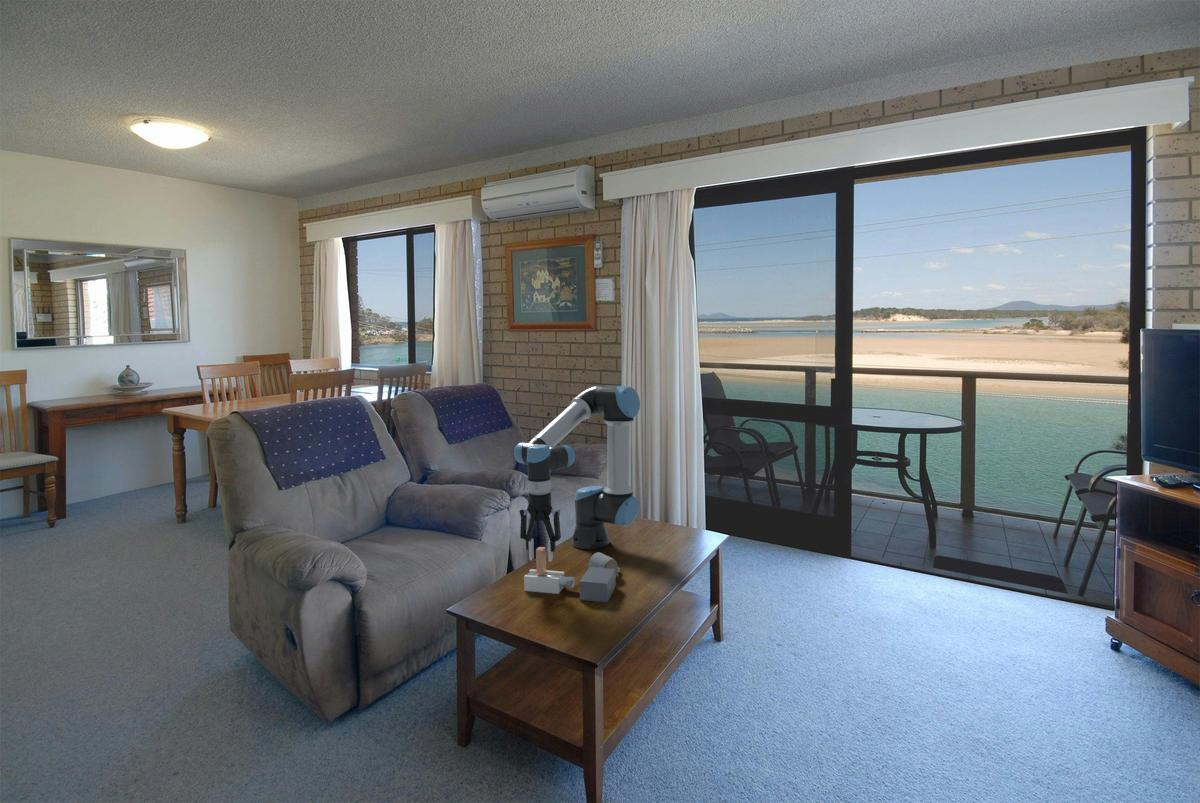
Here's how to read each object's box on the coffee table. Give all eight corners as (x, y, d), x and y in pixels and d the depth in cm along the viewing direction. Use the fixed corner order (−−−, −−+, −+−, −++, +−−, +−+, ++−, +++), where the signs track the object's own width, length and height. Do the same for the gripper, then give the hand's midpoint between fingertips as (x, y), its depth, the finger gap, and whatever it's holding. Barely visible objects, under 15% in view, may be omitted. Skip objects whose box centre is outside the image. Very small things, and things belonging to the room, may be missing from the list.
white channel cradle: (531, 583, 210) (530, 569, 209) (564, 586, 207) (564, 571, 206) (524, 590, 204) (523, 576, 203) (558, 593, 201) (558, 579, 200)
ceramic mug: (604, 582, 210) (604, 560, 209) (588, 576, 215) (588, 554, 215) (625, 574, 217) (625, 553, 216) (608, 568, 223) (608, 547, 222)
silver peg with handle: (529, 581, 208) (528, 545, 207) (574, 585, 204) (574, 549, 203) (525, 585, 205) (524, 549, 204) (571, 589, 201) (571, 552, 200)
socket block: (589, 584, 208) (589, 566, 207) (615, 586, 206) (615, 568, 205) (580, 599, 196) (579, 581, 195) (607, 602, 194) (607, 583, 193)
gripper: (508, 493, 200) (510, 561, 203) (563, 496, 196) (565, 566, 199) (516, 487, 208) (518, 553, 210) (570, 490, 203) (571, 557, 206)
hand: (541, 559), depth 204 cm, fingers open, 6 cm apart
